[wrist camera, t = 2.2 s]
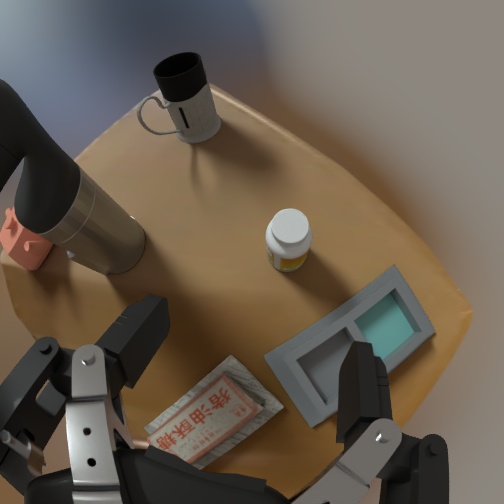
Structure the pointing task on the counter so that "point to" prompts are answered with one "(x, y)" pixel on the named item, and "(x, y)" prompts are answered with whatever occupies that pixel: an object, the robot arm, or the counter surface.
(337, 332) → the divided tray
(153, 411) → the counter surface
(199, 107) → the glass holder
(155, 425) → the packaged product
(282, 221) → the supplement bottle
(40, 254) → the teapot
